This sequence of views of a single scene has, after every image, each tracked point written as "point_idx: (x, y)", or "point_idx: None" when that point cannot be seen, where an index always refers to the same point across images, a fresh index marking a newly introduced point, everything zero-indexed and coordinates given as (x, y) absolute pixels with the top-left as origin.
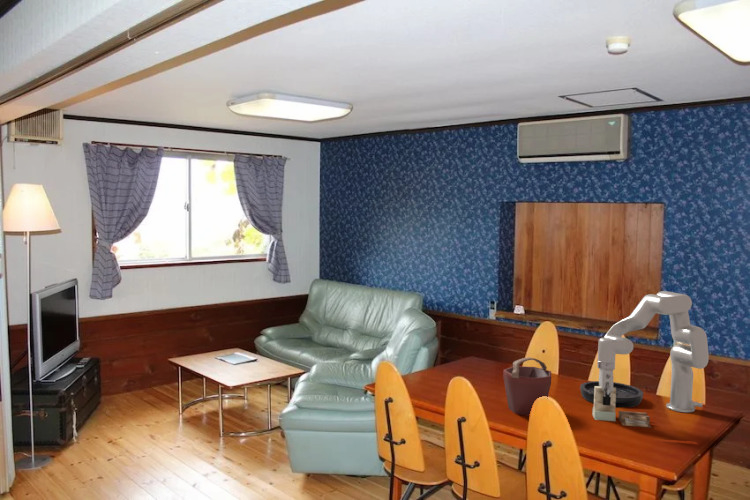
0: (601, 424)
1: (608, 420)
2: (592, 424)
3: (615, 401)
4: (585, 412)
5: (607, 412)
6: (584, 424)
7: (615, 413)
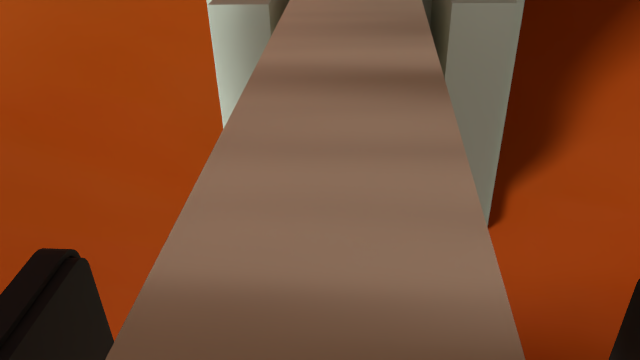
0: (585, 181)
1: (506, 88)
2: (587, 279)
3: (450, 102)
4: (123, 272)
5: (490, 163)
6: (589, 350)
7: (513, 2)
